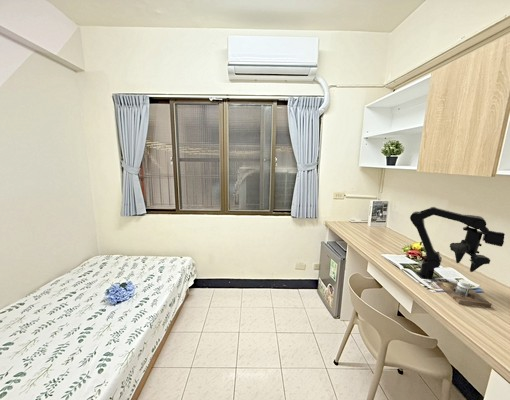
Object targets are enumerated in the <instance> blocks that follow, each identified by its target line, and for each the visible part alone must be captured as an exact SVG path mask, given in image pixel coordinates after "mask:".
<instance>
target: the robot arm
mask: <svg viewBox="0 0 510 400" xmlns="http://www.w3.org/2000/svg"><path fill="white" fill-rule="evenodd" d="M431 216H437V217H441V218H444V219H448V220H452V221H454V222H459V223H462V224H463V225H465V226H464V227H462V230H463V231H466V234H465V236H464V239H462V240H461V241H460V242H451V243H450V244H449V248H450V251H451V252H453V253H454V255H455V262H456V264H460V262H461V261H462V259H463V258H464V257H465V255H469V256H470V259H469V261H470V267H469V272H470V273H474V272H475V271H476V270H478V268H480V267H482V266H484V265H490V263H491V259H490V258H489V257H487V256H485V255H484V254H480V251H479V250H478V249H479V247H482V243H481V240H482V241H483V242H484V244H488V245H493V246H496V247H503V246H504V244H505V241H504V240H505V236H506V234H505V233H504V232H501V231H493V230H489V228H488V227H487V221H486V220H485V218H484V217H483V216H480V215H474V214H473V215H472V214H462V213H458V212H453V211H450V210H446V209H442V208H438V207H435V206H431V207H429V208H426V209H422V210H420V211H413V212H412V213H411V214H410V217H409V219H410V221H411V223H412V225H413V226H414V227H415V228H416V229H417V233H418V236H419V238H420V241H421V242H422V245H423V248H424V251H425V255H426V258H423V260H422V262H421V265H420V270H419V271H416V273H417V274H418V275H419V276H420V277H421V278H422V279H426V280H427V279H428V280H435V277H434V274H435V273H434V272H435V269H436V268H439V267H440V266H441V263H442V256H441V255H440V251H436V250H435V249H434V246H433V244H432V241H431V239H430V235H429V233H428V231H427V229H426V225H425V220H426V219H427V218H430V217H431Z"/></svg>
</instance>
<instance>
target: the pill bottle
mask: <svg viewBox="0 0 510 400" xmlns="http://www.w3.org/2000/svg"><path fill="white" fill-rule="evenodd" d="M457 283H458V284H457V287H456V290H455V292H456V293H457V294H459V295H462V296H464V297H467V296H468V293H469V290H470V288H471V287H470V286H471V282H470V281H467V280H465V279H459V281H458V282H457Z"/></svg>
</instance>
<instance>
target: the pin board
mask: <svg viewBox="0 0 510 400" xmlns="http://www.w3.org/2000/svg"><path fill="white" fill-rule="evenodd" d="M458 283H459V282H447V281H439V280H437V282H436V286H438V287H439V288H440V289H441V288H442V289H443V290H444V291H443V290H442V289H441V290H442V291H443V292H444V293H446V295H447V296H449V297H450V298H451V299H453V300H454V301H455V302H456V303H457V304H458V305H465V306H472V307H479V308H480V307H483V308H490V309H491V307H492V306H493V305H492V302H490V301H488V300H487V299H485V298H484V297H483V296H481V295H480V294H479V293H477V292H476V291H475V290H473V289H472V288H471V287H470V290H469V293H468V296H467V297H464V296H462V295H459V294H457V293H456V292H455V290H456V287H457V284H458Z"/></svg>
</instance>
